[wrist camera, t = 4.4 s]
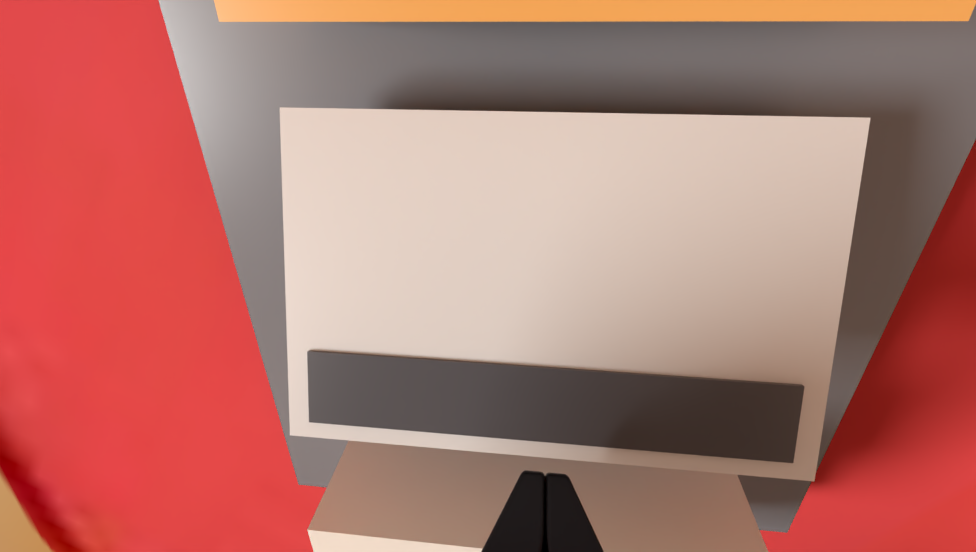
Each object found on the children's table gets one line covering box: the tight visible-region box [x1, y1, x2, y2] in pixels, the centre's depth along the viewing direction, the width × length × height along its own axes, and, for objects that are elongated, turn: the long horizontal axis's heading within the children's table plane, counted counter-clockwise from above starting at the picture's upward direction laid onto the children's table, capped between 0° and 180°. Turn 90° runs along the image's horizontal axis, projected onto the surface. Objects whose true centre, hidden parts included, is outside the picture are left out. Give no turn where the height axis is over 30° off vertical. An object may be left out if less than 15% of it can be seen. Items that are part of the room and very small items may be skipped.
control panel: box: [159, 0, 976, 532], centre depth 13 cm, size 18×22×4 cm
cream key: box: [307, 441, 768, 552], centre depth 14 cm, size 11×4×3 cm, turn 91°
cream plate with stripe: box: [280, 107, 870, 481], centre depth 10 cm, size 11×7×1 cm, turn 91°
